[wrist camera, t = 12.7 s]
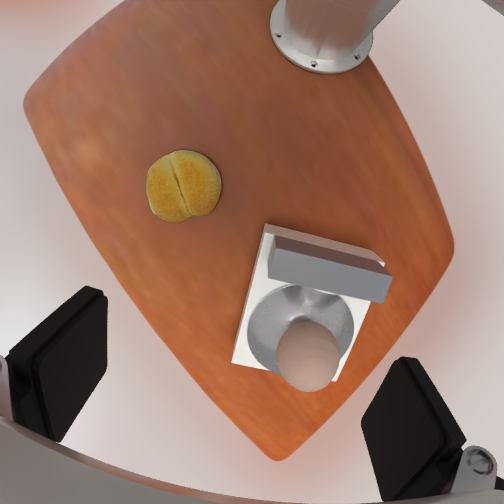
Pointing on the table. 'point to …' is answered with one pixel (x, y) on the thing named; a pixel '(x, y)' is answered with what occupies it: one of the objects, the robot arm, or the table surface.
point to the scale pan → (296, 320)
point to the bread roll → (182, 186)
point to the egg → (308, 356)
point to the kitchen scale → (312, 278)
